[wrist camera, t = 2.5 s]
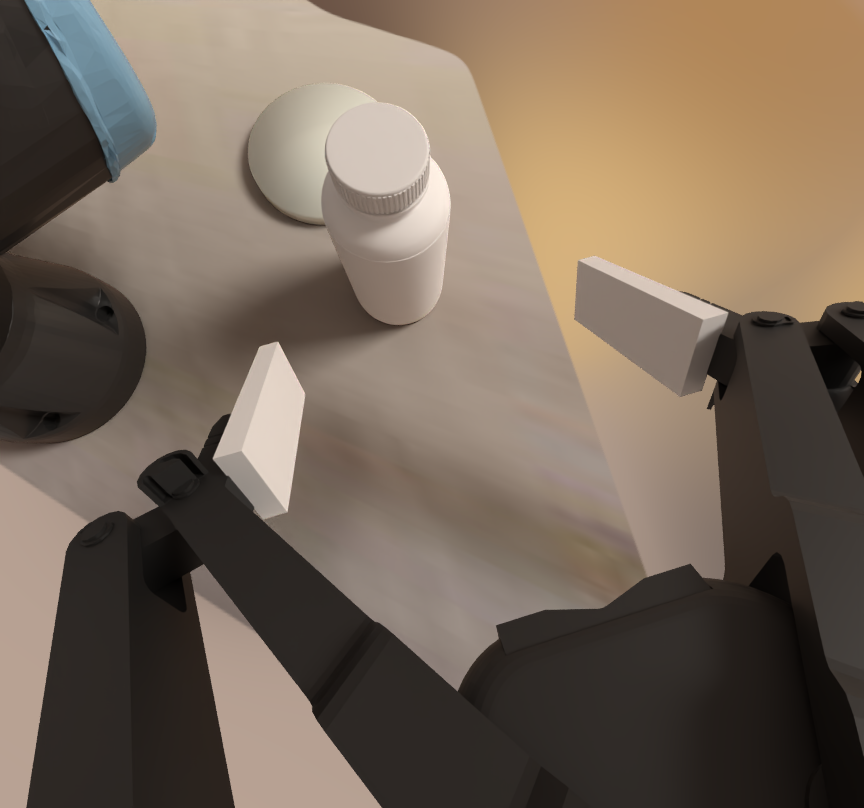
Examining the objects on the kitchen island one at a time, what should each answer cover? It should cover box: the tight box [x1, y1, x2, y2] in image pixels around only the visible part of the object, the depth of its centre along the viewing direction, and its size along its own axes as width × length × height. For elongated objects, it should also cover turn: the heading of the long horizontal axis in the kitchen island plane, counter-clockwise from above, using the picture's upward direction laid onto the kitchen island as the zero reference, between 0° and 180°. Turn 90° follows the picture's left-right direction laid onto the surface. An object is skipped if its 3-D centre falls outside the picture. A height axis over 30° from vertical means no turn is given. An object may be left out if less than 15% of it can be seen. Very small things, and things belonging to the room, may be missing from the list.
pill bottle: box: [321, 102, 451, 325], centre depth 25 cm, size 8×8×15 cm
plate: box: [248, 83, 377, 225], centre depth 33 cm, size 14×14×1 cm
